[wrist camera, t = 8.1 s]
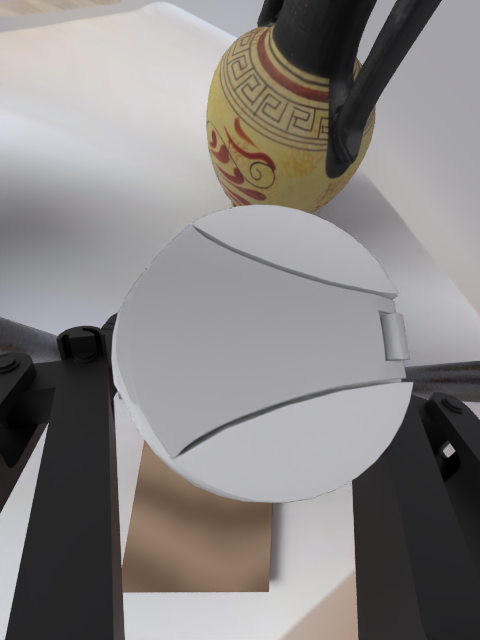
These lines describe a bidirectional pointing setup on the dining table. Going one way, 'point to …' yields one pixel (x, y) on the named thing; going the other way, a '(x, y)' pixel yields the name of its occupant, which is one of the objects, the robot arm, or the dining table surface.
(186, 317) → the paper cup
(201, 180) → the dining table surface
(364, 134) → the amphora
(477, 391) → the frame
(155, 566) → the walnut board
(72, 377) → the robot arm
